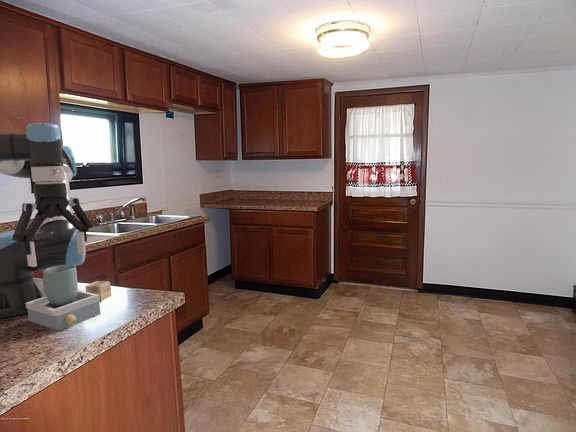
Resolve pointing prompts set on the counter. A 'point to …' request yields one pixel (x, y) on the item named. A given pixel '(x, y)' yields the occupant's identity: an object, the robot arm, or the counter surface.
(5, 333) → the counter surface
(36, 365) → the counter surface
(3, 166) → the robot arm
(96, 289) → the oak block
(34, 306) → the grey drawer box
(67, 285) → the cup
